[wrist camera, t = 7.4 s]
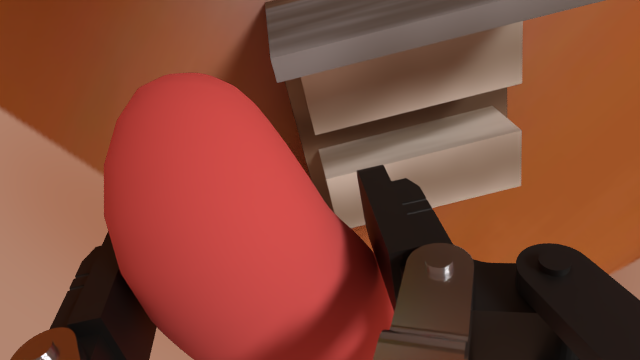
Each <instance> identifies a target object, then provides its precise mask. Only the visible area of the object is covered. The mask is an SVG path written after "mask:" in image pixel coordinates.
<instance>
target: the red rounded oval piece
mask: <svg viewBox="0 0 640 360" xmlns="http://www.w3.org/2000/svg"><path fill="white" fill-rule="evenodd" d="M104 217H105V221H106V224H107V228H108V231H109V235H110V238H111V242H112V245H113V249H114V252H115V256H116V259H117V263H118V266H119V269H120V272H121V274H122V276H123V278H124V279H125V281H126V282H127V284H128V285H129V287H130V289H131V290H132V292H133V293H134V295H135V296H136V298H137V299H138V301H139V303H140V304H141V306H142V307H143V309H144V310H145V312H146V314H147V315H148V317H149V318H150V320H151V321H152V322H153V323H154V324H155V325H156V326H157V327H158V329H159V330H160V331H161V332H163V334H165V335H166V336H167V337H168V338H169V339H170V340H171V341H172V342H173V343H174V344H176V345H177V346H178V347H179V348H180V349H181V350H183V351H184V352H185V353H186V354H188V355H189V356H190V357H191V358H193V359H194V360H373V357H374V354H375V350H376V346H377V342H378V339H379V336H380V334H381V332H382V330H384V329H385V330H389V329H390V327H391V323H392V319H393V315H394V310H393V307H392V304H391V301H390V298H389V295H388V292H387V289H386V286H385V284H384V281H383V278H382V275H381V272H380V269H379V266H378V263H377V260H376V257H375V254H374V252H373V251H372V250H371V249H370V248H369V247H368V246H367V244H366V243H365V242H364V241H363V240H362V239H361V238H360V237H359V236H358V235H357V234H356V233H355V232H354V231H353V230H352V229H351V228H350V227H349V226H348V225H347V224H345V223H344V222H343V221H342V220H341V219H340V218H339V217H338V216H337V215H336V214H335V213H334V212H333V211H332V210H331V209H330V208H329V207H328V205H327V204H326V203H325V201H324V200H323V198H322V197H321V195H320V194H319V192H318V190H317V189H316V187H315V186H314V184H313V183H312V181H311V180H310V178H309V177H308V175H307V174H306V172H305V171H304V169H303V168H302V166H301V165H300V163H299V162H298V160H297V159H296V157H295V156H294V155H293V153H292V152H291V150H290V149H289V147H288V146H287V144H286V143H285V142H284V140H283V139H282V138H281V136H280V135H279V133H278V132H277V131H276V129H275V128H274V127H273V125H272V124H271V123H270V122H269V120H268V119H267V118H266V117H265V115H264V114H263V113H262V112H261V110H260V109H259V108H258V107H257V106H256V104H255V103H254V102H253V101H251V100H250V99H249V98H248V97H247V96H246V95H244V94H243V93H242V92H241V91H240V90H239V89H238V88H236V87H235V86H233V85H231V84H229V83H227V82H225V81H222V80H220V79H218V78H215V77H213V76H210V75H206V74H200V73H179V74H169V75H164V76H162V77H160V78H158V79H155V80H153V81H151V82H149V83H147V84H145V85H143V86H141V87H140V88H138V89H137V91H136V92H135V94H134V95H133V97H132V98H131V100H130V101H129V103H128V104H127V106H126V107H125V109H124V110H123V112H122V113H121V115H120V116H119V118H118V119H117V122H116V125H115V129H114V132H113V135H112V139H111V142H110V146H109V149H108V153H107V156H106V160H105V163H104Z"/></svg>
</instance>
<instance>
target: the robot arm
mask: <svg viewBox="0 0 640 360" xmlns="http://www.w3.org/2000/svg"><path fill="white" fill-rule="evenodd" d="M357 179H358V184H359V190H360V196H361V202H362V208H363V214H364V219H365V224H366V228H367V232H368V236H369V239H370V242H371V245H372V248H373V251H374V254H375V257H376V260H377V263H378V266H379V269H380V272H381V275H382V278H383V281H384V284H385V286H386V289H387V292H388V295H389V298H390V301H391V304H392V307H393V310H394V315H393V319H392V323H391V327H390V329H389V330H385V329H384V330H382V332H381V334H380V336H379V339H378V342H377V346H376V350H375V354H374V357H373V360H640V300H638V299H637V298H636V297H635V296H634V295H632V294H631V293H630V292H629V291H627V290H626V289H625V288H624V287H623V286H621V285H620V284H619V283H618V282H617V281H615V280H614V279H613V278H612V277H611V276H609V275H608V274H607V273H606V272H604V271H603V270H602V269H601V268H600V267H598V266H597V265H596V264H595V263H593V262H592V261H591V260H590V259H589V258H587V257H586V256H585V255H583V254H582V253H581V252H579V251H577V250H575V249H573V248H570V247H567V246H564V245H559V244H550V243H547V244H537V245H533V246H530V247H528V248H526V249H525V250H523V251H522V252H521V253H520V254H519V256H518V257H517V261H516V263H486V262H480V261H477V260H474V259H472V258H471V256H470V255H469V254H468V253H467V252H466V251H465V250H464V249H462V248H460V247H458V246H455V245H453V243H452V242H451V240H450V238H449V237H448V235H447V233H446V231H445V230H444V228H443V226H442V224H441V223H440V221H439V219H438V217H437V216H436V214H435V212H434V210H432V207H431V205H430V203H429V202H428V200H427V199H426V197H425V195H424V193H423V191H422V190H421V188H420V186H418V185H417V184H415V183H414V182H412V181H410V180H409V179H407V178H404V179H399V180H395V181H391V179H390V177H389V175H388V173H387V171H386V169H385V167H384V165H379V166H374V167H370V168H365V169H361V170H357ZM75 277H76V279H74V280H73V282H72V284H71V286H70V291H68V292H67V294H66V296H65V298H64V300H63V302H62V305H61V307H60V309H59V311H58V313H57V315H56V317H55V319H54V321H53V323H52V325H51V327H50V329H49V330H47V331H44V332H42V333H40V334H38V335H36V336H34V337H33V338H32V339H30V340H28V341H27V342H26V343H25V344H23V345H22V347H20V348H19V349H18V350H17V351H16V353H15V354H14V355H13V357H12V358H11V360H149V358H150V353H151V348H152V345H153V340H154V336H155V332H156V328H157V326H156V325H155V324H154V323H153V322H152V321H151V320H150V318H149V317H148V315H147V314H146V312H145V310H144V309H143V307H142V306H141V304H140V303H139V301H138V299H137V298H136V296H135V295H134V293H133V292H132V290H131V289H130V287H129V285H128V284H127V282H126V281H125V279H124V278H123V276H122V274H121V272H120V269H119V266H118V263H117V259H116V256H115V252H114V249H113V245H112V242H111V238H110V235H109V231H108V233H107V235H106V238H105V240H104V242H103V244H102V246H98V247H95V249H94V250H93V251H92V252H91V253H90V254H89V255H88V256H87V257H86V258H85V259H84V260H83V261H82V263H81V265H80V267H79V269H78V271H77V273H76V276H75Z"/></svg>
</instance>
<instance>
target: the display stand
mask: <svg viewBox="0 0 640 360" xmlns="http://www.w3.org/2000/svg"><path fill="white" fill-rule="evenodd" d="M600 1H604V0H274V1H270V2H266V3H265V9H266V19H267V29H268V39H269V49H270V59H271V63H272V66H273V70H274V73H275V77H276V81H277V83H279V82H283V81H285V84H286V88H287V91H288V95H289V99H290V103H291V106H292V110H293V114H294V118H295V121H296V125H297V129H298V132H299V136H300V140H301V144H302V147H303V151H304V155H305V159H306V162H307V166H308V170H309V174H310V177H311V181H312V183H313V184H314V186H315V187H316V189H317V190H318V192H319V194H320V195H321V197H322V198H323V200H324V201H325V203H326V204H327V205H328V207H329V208H330V209H331V210H332V211H333V212H334V213H335V214H336V215H337V216H338V217H339V218H340V219H341V220H342V221H343V222H344V223H345V224H347V225H348V226H349V227H350V228H353V227H357V226H361V225H365V219H364V214H363V208H362V202H361V196H360V190H359V184H358V179H357V170H361V169H365V168H370V167H374V166H379V165H384V167H385V169H386V171H387V173H388V175H389V177H390V179H391V181H395V180H399V179H404V178H407V179H409V180H410V181H412V182H414V183H415V184H417V185H418V186H420V188H421V190H422V191H423V193H424V195H425V197H426V199H427V200H428V202H429V203H430V205H431V207H432V208H434V207H438V206H442V205H446V204H450V203H454V202H458V201H462V200H466V199H470V198H474V197H478V196H482V195H486V194H490V193H494V192H498V191H502V190H506V189H510V188H514V187H518V186H521V138H522V130H521V129H519V128H518V127H517V126H516V125H515V124H513V123H512V122H511V121H510V120H509V119H508V118H507V87H509V86H513V85H517V84H521V83H522V34H523V21H525V20H529V19H533V18H537V17H541V16H545V15H549V14H552V13H556V12H560V11H564V10H568V9H572V8H576V7H580V6H584V5H588V4H592V3H596V2H600Z"/></svg>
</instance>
